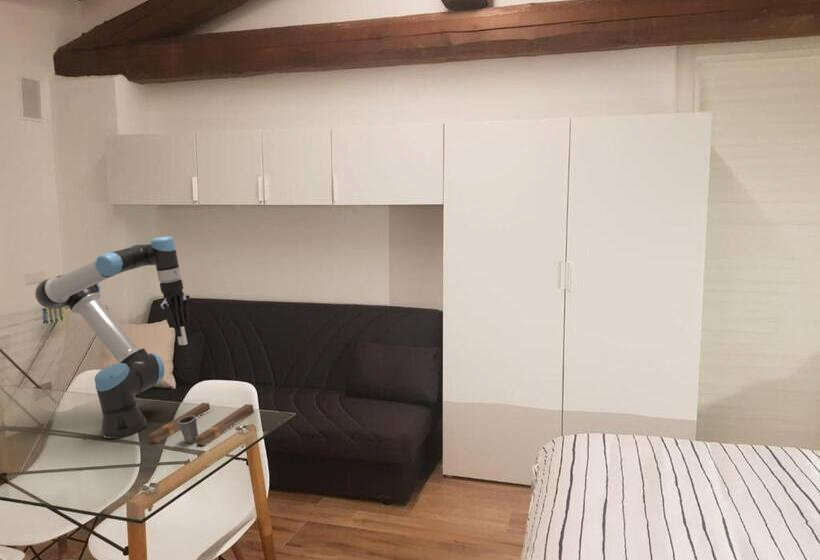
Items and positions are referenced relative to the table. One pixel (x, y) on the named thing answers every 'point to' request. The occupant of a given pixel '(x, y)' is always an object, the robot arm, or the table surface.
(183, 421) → the pipe
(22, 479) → the table surface
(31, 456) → the table surface
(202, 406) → the guide rails
